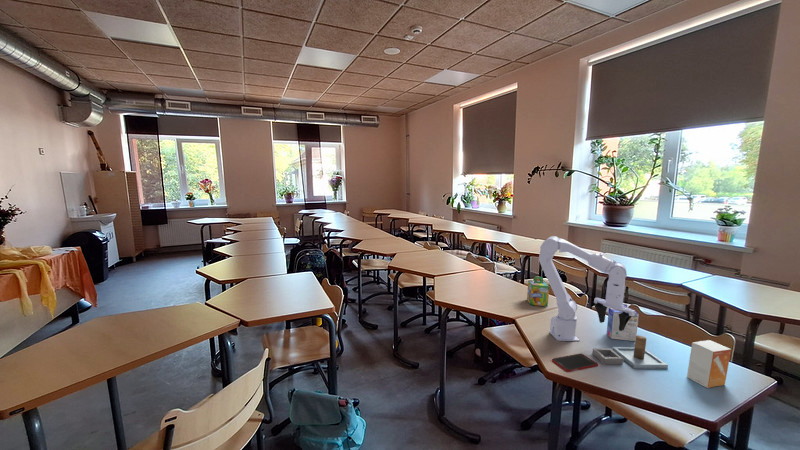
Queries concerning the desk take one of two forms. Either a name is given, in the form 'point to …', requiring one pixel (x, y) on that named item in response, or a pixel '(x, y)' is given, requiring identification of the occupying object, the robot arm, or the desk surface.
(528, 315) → the desk surface
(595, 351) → the square frame
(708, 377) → the small box
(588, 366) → the cell phone
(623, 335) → the ink cartridge box
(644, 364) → the tray
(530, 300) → the chalk box
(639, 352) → the pin
